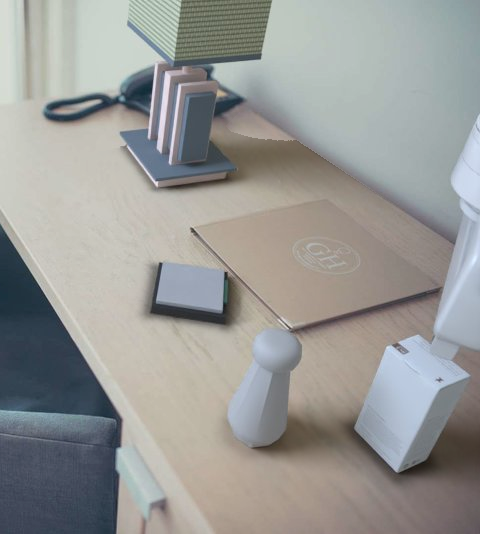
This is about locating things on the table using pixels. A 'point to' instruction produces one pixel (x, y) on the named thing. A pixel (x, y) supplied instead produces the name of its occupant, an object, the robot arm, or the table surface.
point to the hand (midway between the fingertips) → (448, 317)
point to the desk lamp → (190, 81)
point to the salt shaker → (265, 389)
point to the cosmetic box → (409, 402)
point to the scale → (190, 292)
